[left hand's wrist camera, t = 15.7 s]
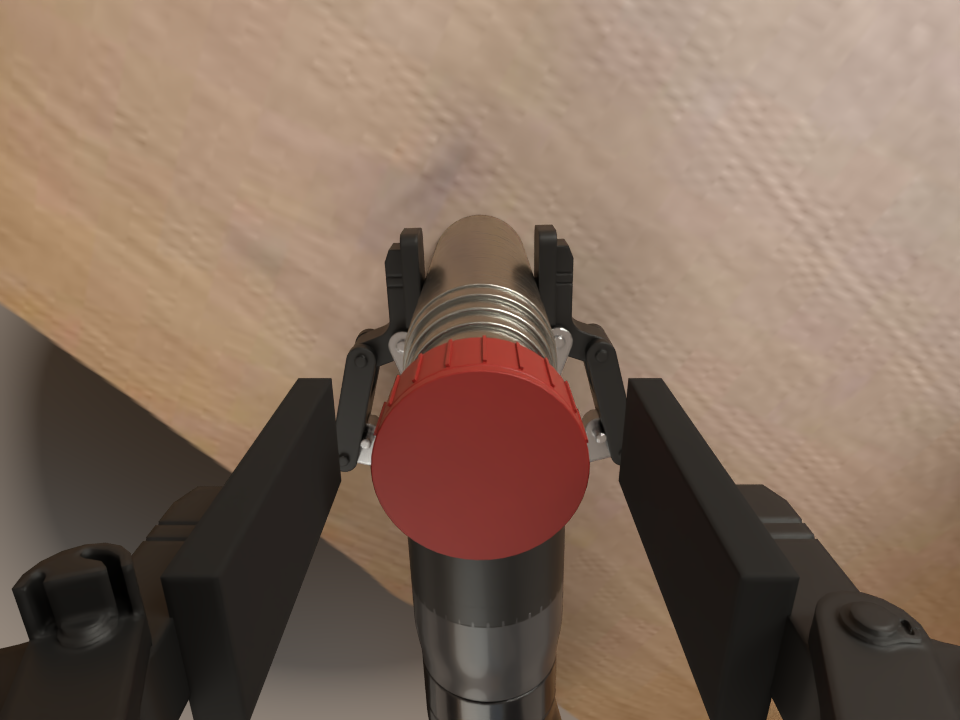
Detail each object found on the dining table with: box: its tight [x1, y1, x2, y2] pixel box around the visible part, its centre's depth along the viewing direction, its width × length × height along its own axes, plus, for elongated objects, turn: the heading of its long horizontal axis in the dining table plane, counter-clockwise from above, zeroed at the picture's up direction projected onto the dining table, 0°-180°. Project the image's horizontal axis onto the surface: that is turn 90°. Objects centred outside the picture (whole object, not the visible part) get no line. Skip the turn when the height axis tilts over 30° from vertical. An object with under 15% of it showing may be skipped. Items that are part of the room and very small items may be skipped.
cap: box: [371, 335, 590, 560], centre depth 14 cm, size 5×5×2 cm
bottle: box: [403, 215, 557, 371], centre depth 22 cm, size 5×5×20 cm
